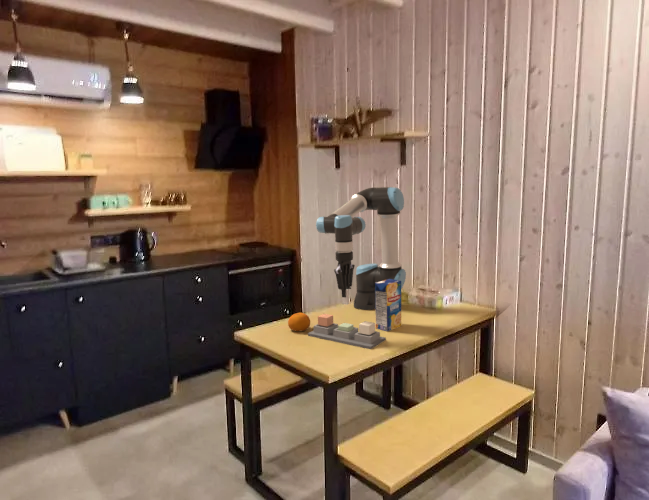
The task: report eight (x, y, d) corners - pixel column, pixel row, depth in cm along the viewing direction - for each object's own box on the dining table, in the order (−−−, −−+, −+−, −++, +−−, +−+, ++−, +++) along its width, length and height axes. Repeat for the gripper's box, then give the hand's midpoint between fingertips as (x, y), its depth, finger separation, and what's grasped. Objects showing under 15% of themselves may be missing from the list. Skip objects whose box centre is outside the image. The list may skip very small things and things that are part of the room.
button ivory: (365, 329, 214) (365, 321, 213) (375, 331, 211) (375, 322, 211) (359, 333, 210) (359, 324, 209) (369, 335, 207) (369, 326, 207)
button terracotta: (324, 322, 227) (324, 313, 226) (333, 323, 224) (333, 315, 223) (318, 324, 223) (317, 316, 222) (327, 326, 220) (326, 318, 219)
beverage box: (375, 328, 230) (375, 282, 226) (389, 323, 237) (389, 278, 234) (387, 331, 225) (386, 285, 221) (401, 325, 232) (401, 280, 229)
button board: (324, 327, 233) (324, 319, 232) (385, 340, 213) (385, 331, 213) (307, 335, 222) (307, 326, 221) (370, 349, 203) (370, 339, 202)
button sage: (344, 331, 221) (344, 322, 220) (353, 333, 218) (353, 324, 217) (338, 334, 217) (337, 325, 216) (347, 336, 214) (347, 327, 213)
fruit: (286, 327, 235) (286, 311, 233) (308, 325, 237) (307, 309, 235) (289, 334, 225) (289, 317, 223) (312, 332, 227) (311, 315, 225)
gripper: (345, 248, 219) (346, 299, 223) (328, 252, 208) (330, 306, 212) (359, 249, 215) (360, 301, 219) (343, 254, 204) (344, 308, 208)
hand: (345, 303), depth 216 cm, fingers closed
